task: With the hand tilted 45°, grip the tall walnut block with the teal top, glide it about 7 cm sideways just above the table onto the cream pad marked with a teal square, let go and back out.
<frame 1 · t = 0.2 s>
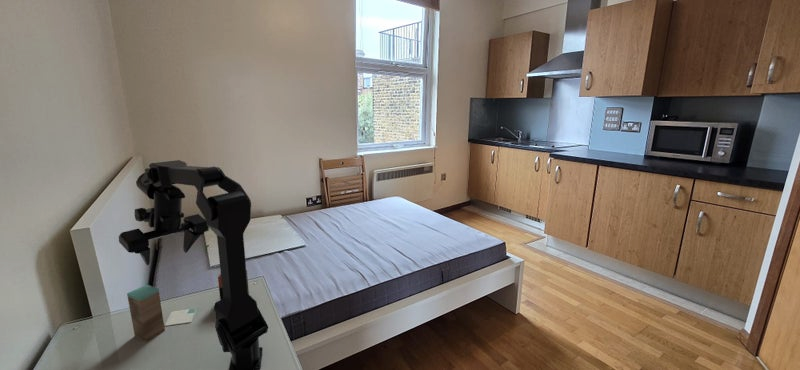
hand: (167, 257, 88), 16 cm above the table, tool pointing down, fingers open, 9 cm apart
battery: (235, 300, 97), on the table
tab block: (150, 333, 82), on the table
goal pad: (181, 317, 88), on the table
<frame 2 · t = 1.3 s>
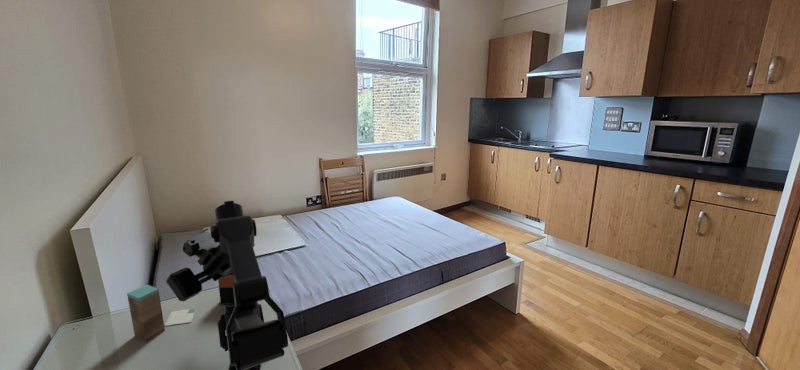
hand: (199, 286, 80), 13 cm above the table, tool tilted 45°, fingers open, 9 cm apart
nothing on the table moved.
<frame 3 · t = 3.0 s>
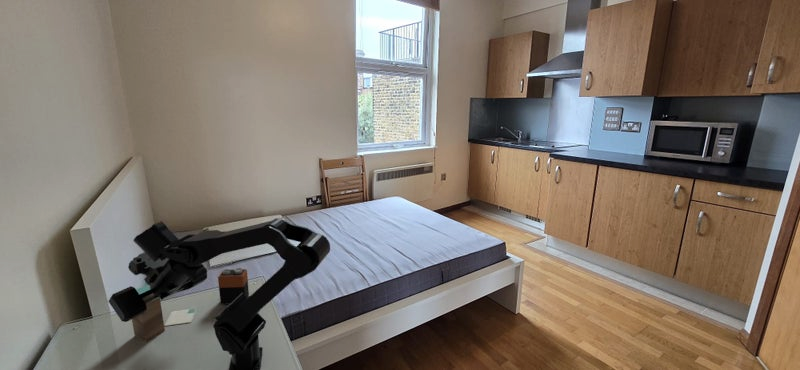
hand: (149, 302, 79), 10 cm above the table, tool tilted 45°, fingers open, 9 cm apart
nothing on the table moved.
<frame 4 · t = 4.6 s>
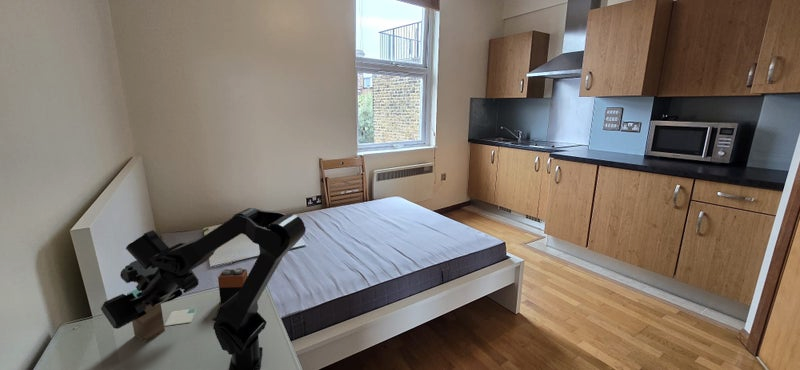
hand: (142, 308, 81), 7 cm above the table, tool tilted 45°, fingers closed on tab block, 4 cm apart
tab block: (150, 333, 82), on the table, touching gripper
everything else where it was.
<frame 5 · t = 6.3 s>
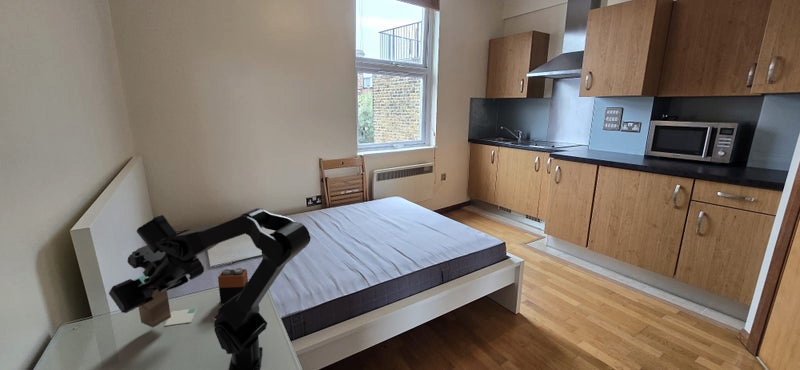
hand: (148, 295, 82), 9 cm above the table, tool tilted 45°, fingers closed on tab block, 4 cm apart
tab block: (156, 319, 83), point 3 cm above the table, touching gripper
everything else where it was.
when the fingers open (8 cm above the table, at t = 8.3 s): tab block stays where it is, resting on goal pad.
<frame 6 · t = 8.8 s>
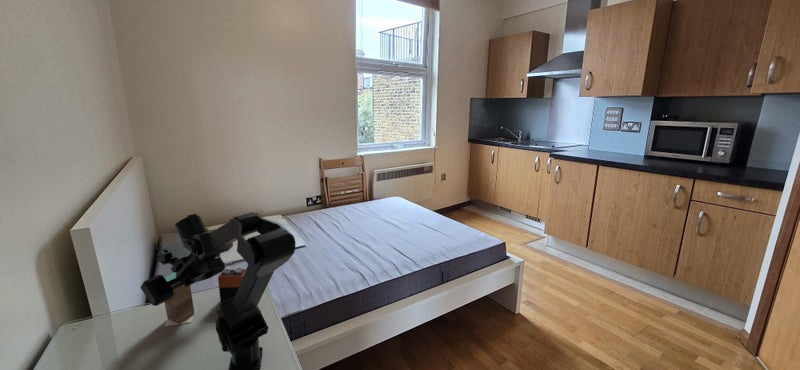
hand: (174, 290, 87), 8 cm above the table, tool tilted 45°, fingers open, 9 cm apart
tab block: (181, 316, 88), resting on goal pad
everything else where it was.
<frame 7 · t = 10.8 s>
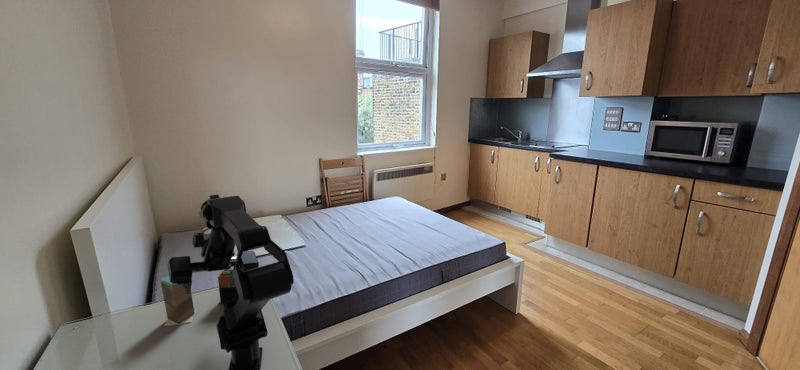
hand: (209, 289, 82), 11 cm above the table, tool tilted 25°, fingers open, 9 cm apart
nothing on the table moved.
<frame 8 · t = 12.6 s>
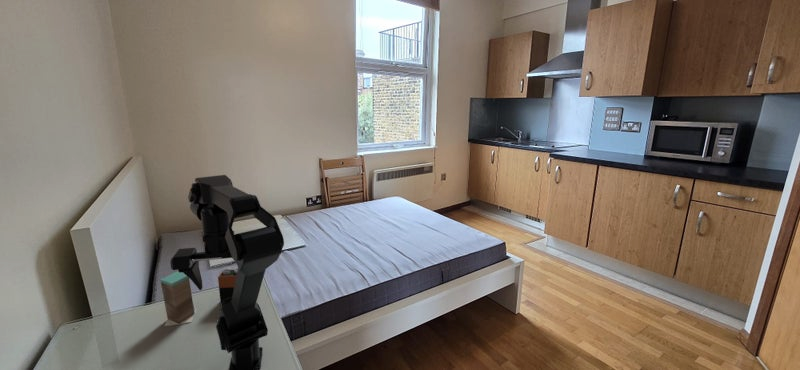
hand: (222, 286, 81), 13 cm above the table, tool pointing down, fingers open, 9 cm apart
nothing on the table moved.
at the end: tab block 0.0 cm from the target spot, resting on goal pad; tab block tilted 1°; the gripper is holding nothing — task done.
